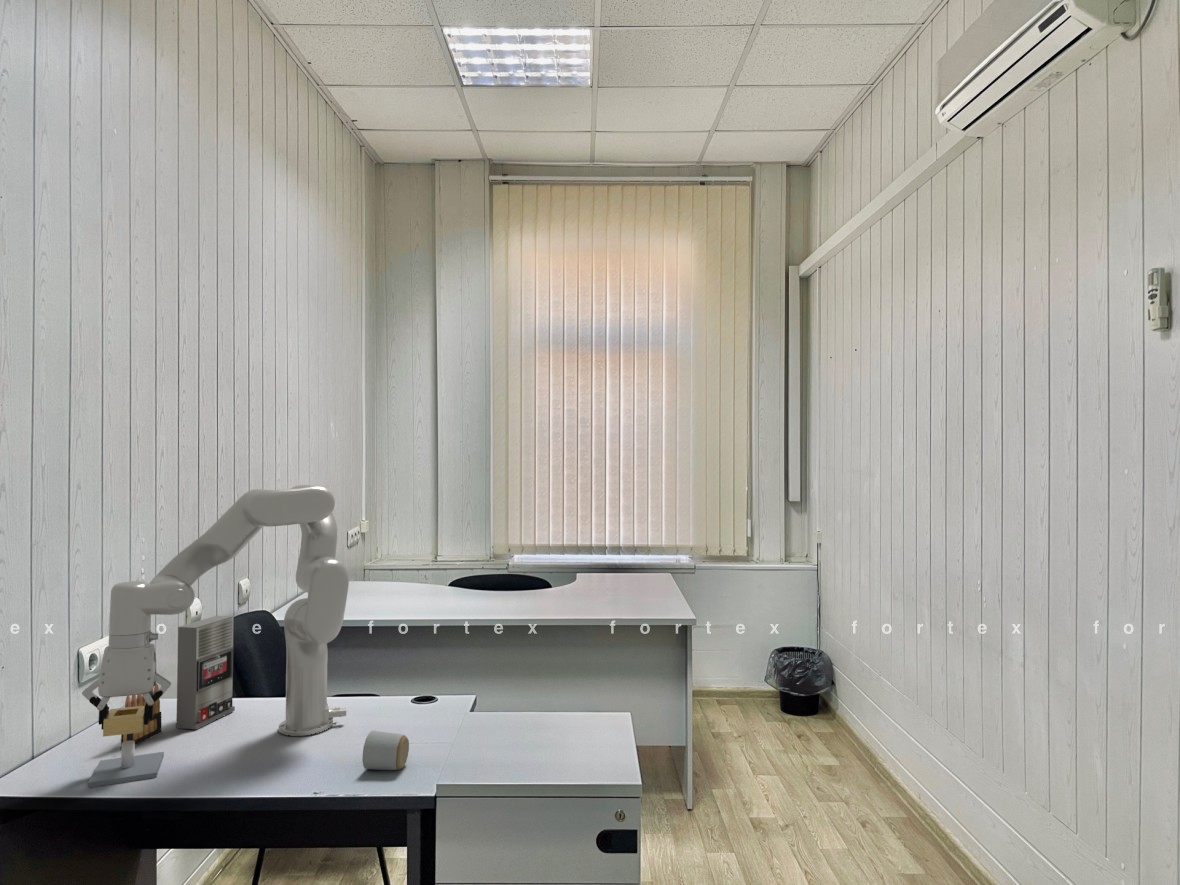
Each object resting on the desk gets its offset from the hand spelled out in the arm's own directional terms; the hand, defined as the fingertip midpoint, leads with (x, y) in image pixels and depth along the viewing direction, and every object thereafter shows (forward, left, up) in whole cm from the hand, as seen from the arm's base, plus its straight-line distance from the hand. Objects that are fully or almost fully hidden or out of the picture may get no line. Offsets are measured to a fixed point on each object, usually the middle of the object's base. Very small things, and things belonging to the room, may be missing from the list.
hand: (126, 724), depth 154 cm
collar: (0, 0, -1) cm, 1 cm away
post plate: (0, 0, -10) cm, 10 cm away
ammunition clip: (0, -19, -10) cm, 22 cm away
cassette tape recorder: (-13, -28, -10) cm, 33 cm away
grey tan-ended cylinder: (-51, +19, -10) cm, 56 cm away
